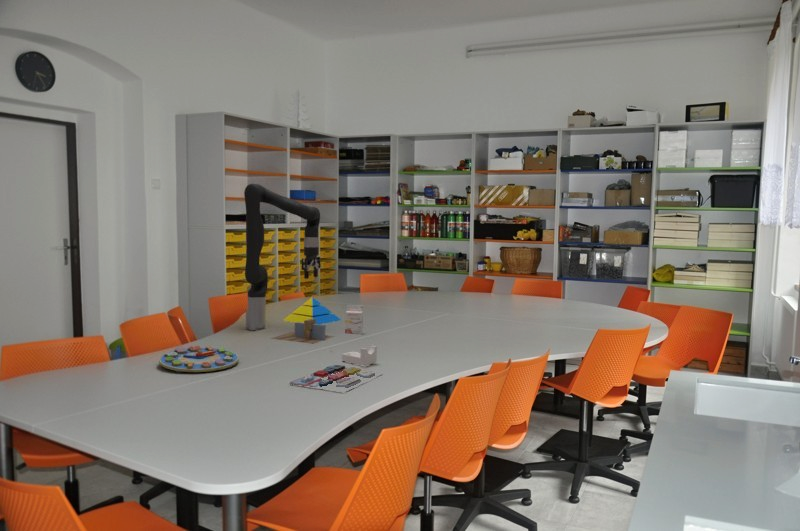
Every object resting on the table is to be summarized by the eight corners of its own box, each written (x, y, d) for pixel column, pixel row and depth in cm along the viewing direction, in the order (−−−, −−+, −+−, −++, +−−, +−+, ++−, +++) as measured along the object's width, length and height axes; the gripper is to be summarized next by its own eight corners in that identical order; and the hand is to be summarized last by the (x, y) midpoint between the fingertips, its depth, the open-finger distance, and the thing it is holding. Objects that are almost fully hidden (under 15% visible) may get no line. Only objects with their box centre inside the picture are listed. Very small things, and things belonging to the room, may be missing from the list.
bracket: (376, 364, 267) (376, 346, 266) (365, 367, 261) (365, 349, 261) (353, 359, 275) (353, 341, 274) (341, 362, 269) (341, 344, 269)
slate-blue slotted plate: (294, 336, 314) (294, 322, 313) (297, 336, 316) (297, 322, 315) (323, 340, 307) (323, 325, 307) (325, 339, 309) (325, 325, 309)
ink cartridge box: (344, 334, 327) (344, 306, 326) (346, 333, 332) (346, 304, 331) (361, 335, 326) (361, 306, 325) (362, 333, 331) (363, 305, 330)
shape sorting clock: (164, 378, 239) (164, 362, 239) (154, 360, 266) (154, 346, 265) (247, 370, 253) (247, 355, 253) (229, 354, 280) (229, 340, 280)
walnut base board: (270, 340, 309) (270, 338, 309) (293, 333, 327) (293, 331, 327) (312, 345, 299) (312, 343, 299) (334, 338, 318) (334, 336, 317)
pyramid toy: (312, 327, 350) (312, 301, 349) (280, 321, 365) (280, 296, 364) (343, 321, 370) (343, 296, 369) (311, 316, 385) (312, 292, 384)
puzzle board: (343, 395, 223) (343, 388, 222) (288, 386, 232) (288, 379, 232) (384, 376, 250) (384, 369, 250) (333, 368, 260) (333, 362, 260)
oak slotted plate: (304, 339, 309) (304, 320, 308) (311, 336, 315) (311, 318, 314) (308, 339, 308) (308, 320, 307) (315, 337, 314) (315, 319, 313)
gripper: (312, 245, 337) (312, 276, 338) (297, 246, 324) (297, 278, 325) (325, 245, 334) (324, 277, 335) (310, 247, 321) (309, 279, 322)
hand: (311, 277), depth 330 cm, fingers open, 8 cm apart
